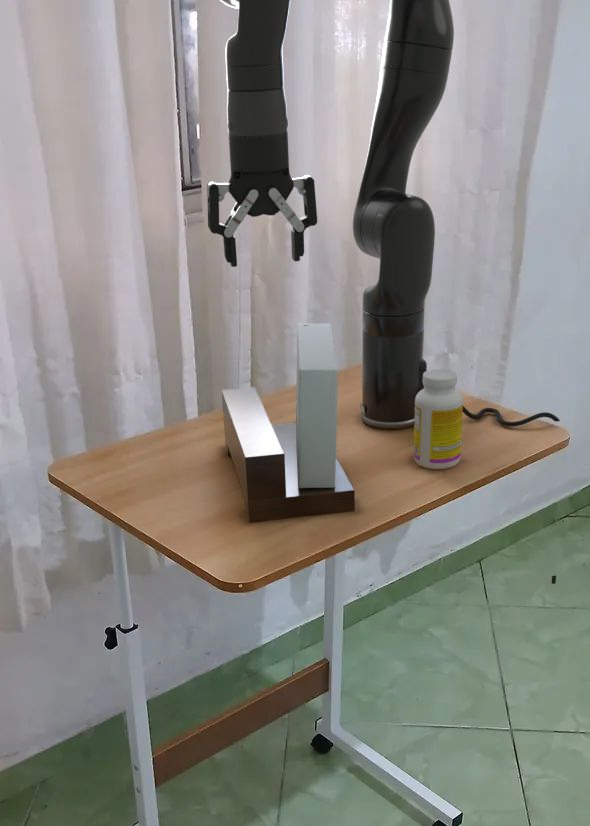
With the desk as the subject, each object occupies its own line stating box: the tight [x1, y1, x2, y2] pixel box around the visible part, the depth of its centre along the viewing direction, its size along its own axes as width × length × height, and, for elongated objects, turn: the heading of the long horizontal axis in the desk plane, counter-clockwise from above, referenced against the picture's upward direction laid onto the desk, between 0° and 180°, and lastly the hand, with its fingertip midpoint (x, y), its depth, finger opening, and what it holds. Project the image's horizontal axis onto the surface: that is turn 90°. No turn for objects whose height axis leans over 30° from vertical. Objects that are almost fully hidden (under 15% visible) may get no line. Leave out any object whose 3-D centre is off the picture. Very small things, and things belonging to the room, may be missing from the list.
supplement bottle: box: [413, 368, 464, 470], centre depth 144 cm, size 7×7×13 cm
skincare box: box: [295, 323, 339, 488], centre depth 138 cm, size 21×5×16 cm, turn 1°
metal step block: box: [220, 386, 356, 523], centre depth 142 cm, size 14×26×9 cm, turn 10°
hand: (264, 262), depth 138 cm, fingers open, 8 cm apart
